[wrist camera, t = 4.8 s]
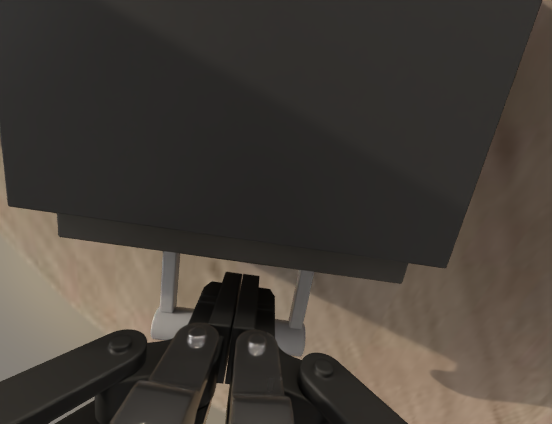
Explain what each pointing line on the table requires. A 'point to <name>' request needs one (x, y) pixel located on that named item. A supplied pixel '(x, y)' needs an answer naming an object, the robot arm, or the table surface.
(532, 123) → the table surface
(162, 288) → the drawer
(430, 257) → the cabinet
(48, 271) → the table surface
